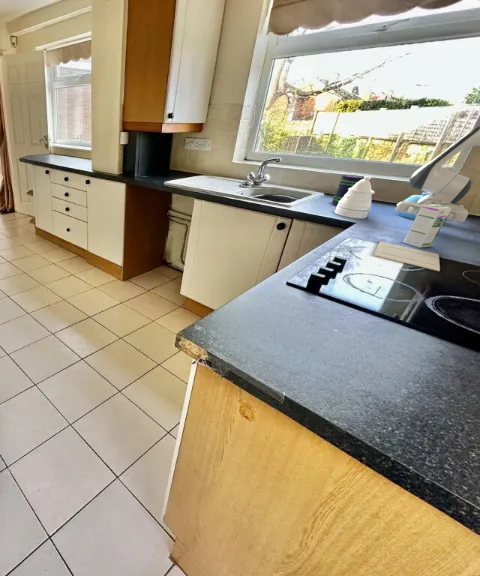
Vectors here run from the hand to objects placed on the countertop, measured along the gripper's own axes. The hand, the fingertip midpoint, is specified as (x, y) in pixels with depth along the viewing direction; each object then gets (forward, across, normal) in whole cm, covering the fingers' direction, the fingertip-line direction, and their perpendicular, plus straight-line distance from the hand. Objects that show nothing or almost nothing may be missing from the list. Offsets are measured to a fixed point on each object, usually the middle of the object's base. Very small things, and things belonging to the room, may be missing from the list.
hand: (429, 214), depth 120 cm
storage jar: (-45, -32, +10) cm, 56 cm away
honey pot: (-22, -25, +10) cm, 34 cm away
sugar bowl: (-46, -2, +10) cm, 47 cm away
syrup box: (+11, 0, +10) cm, 15 cm away
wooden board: (+29, -2, +9) cm, 31 cm away
